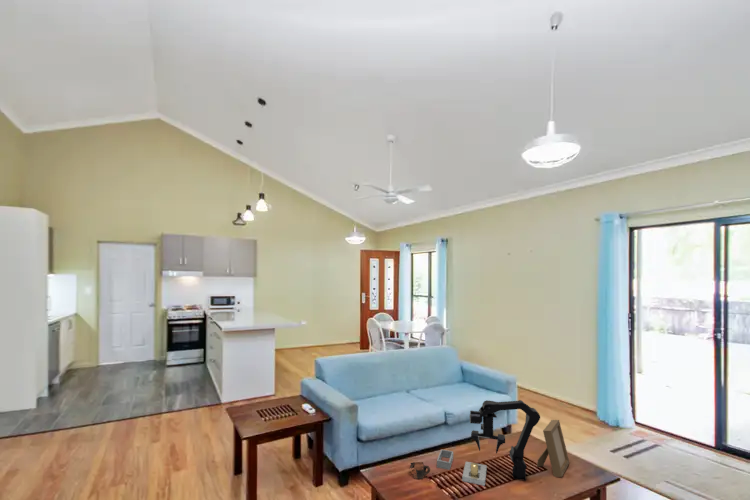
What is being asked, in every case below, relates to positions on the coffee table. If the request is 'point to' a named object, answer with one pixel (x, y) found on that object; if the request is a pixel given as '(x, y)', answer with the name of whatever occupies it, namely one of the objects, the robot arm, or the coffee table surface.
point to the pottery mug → (419, 470)
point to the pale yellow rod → (474, 470)
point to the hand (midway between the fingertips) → (488, 451)
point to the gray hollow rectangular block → (443, 463)
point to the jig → (479, 480)
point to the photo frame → (554, 449)
